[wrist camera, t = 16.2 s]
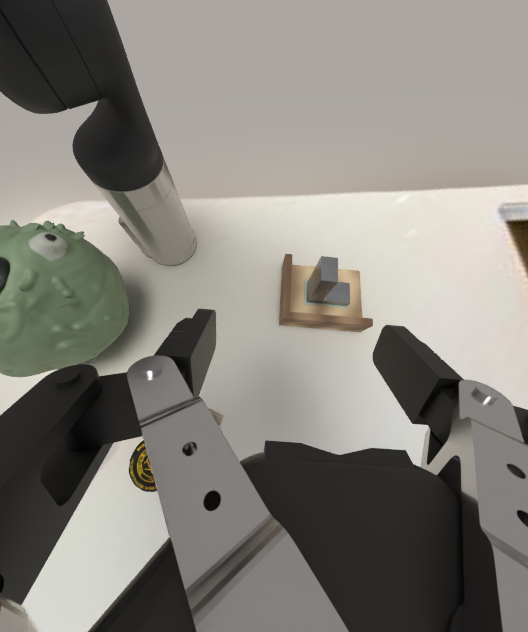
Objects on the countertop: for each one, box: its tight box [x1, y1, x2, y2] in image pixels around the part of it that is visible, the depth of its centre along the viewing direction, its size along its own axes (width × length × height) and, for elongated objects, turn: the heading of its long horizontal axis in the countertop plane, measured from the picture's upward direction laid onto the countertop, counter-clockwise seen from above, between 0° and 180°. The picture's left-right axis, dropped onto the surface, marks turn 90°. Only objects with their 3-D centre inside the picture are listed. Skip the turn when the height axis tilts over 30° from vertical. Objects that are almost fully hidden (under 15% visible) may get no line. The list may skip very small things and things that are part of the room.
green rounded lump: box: [0, 220, 129, 377], centre depth 29 cm, size 16×19×20 cm
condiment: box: [129, 409, 223, 492], centre depth 29 cm, size 7×8×12 cm
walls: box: [280, 254, 373, 331], centre depth 40 cm, size 15×12×4 cm
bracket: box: [307, 256, 350, 306], centre depth 37 cm, size 8×4×9 cm, turn 85°
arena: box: [279, 265, 362, 332], centre depth 42 cm, size 15×12×1 cm
